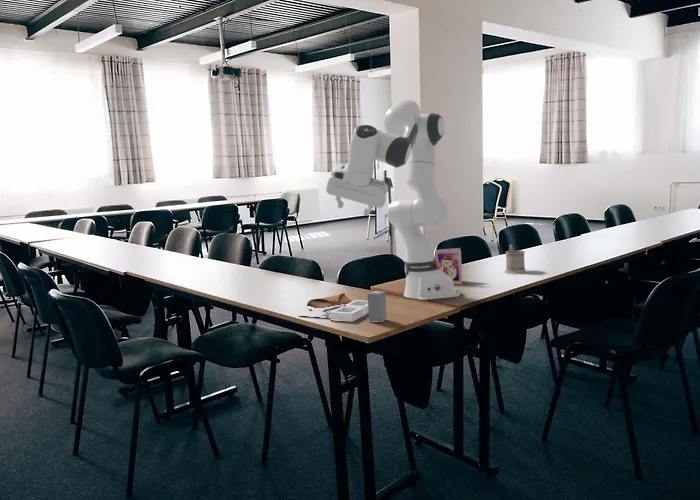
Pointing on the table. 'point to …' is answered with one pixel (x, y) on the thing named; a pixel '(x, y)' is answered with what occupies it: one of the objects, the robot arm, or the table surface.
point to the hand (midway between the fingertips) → (353, 210)
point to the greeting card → (450, 263)
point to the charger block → (377, 306)
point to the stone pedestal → (515, 261)
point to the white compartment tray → (351, 311)
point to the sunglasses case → (329, 301)
